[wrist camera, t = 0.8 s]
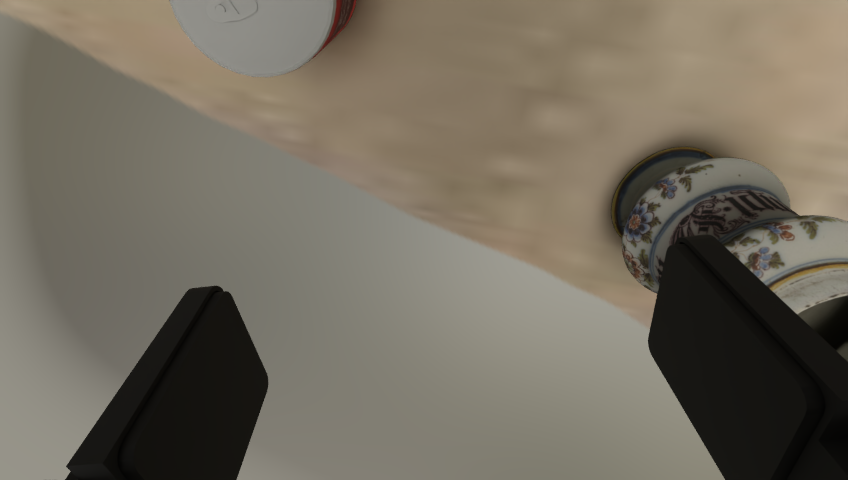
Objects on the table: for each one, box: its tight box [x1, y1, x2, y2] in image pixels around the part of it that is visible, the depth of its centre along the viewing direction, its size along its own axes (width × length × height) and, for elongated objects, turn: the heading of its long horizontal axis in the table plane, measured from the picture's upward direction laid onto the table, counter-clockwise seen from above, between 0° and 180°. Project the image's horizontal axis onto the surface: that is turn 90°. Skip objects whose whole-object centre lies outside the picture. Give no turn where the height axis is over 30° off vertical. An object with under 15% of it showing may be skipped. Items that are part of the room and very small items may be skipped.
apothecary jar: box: [611, 147, 848, 361], centre depth 32 cm, size 12×12×18 cm
